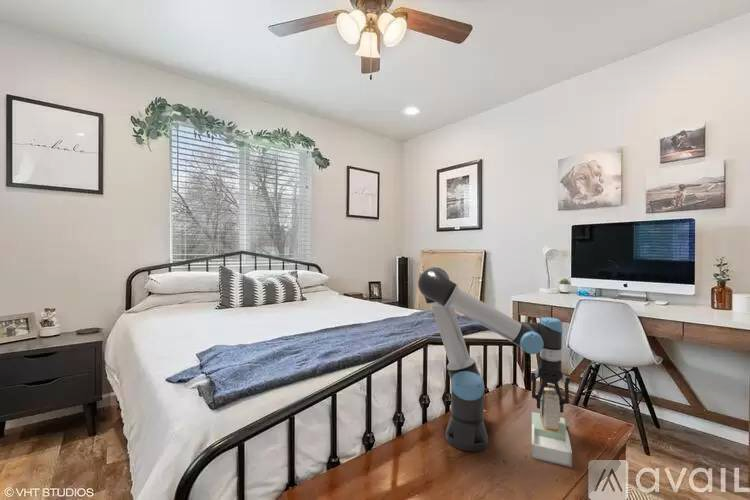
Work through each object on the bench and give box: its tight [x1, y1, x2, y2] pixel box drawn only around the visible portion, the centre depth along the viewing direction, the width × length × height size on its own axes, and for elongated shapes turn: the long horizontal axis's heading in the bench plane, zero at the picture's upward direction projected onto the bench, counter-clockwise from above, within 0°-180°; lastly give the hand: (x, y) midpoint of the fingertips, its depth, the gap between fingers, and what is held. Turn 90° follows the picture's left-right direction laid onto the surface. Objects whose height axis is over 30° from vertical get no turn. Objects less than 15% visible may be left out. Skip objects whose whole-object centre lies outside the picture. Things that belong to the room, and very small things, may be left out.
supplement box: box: [541, 387, 559, 431], centre depth 135 cm, size 8×5×13 cm, turn 165°
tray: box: [531, 423, 573, 468], centre depth 124 cm, size 12×16×4 cm
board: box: [531, 411, 568, 441], centre depth 137 cm, size 12×14×3 cm
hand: (549, 418), depth 135 cm, fingers closed on supplement box, 5 cm apart
